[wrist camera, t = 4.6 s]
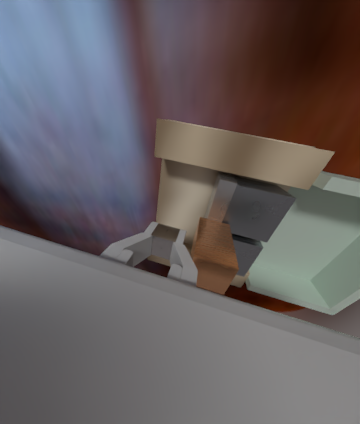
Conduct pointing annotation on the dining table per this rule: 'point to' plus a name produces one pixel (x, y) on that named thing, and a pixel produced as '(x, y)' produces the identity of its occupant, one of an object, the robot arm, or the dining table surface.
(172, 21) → the dining table surface
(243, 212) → the dark grey block
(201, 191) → the slot board
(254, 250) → the chip
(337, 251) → the tray
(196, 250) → the block
